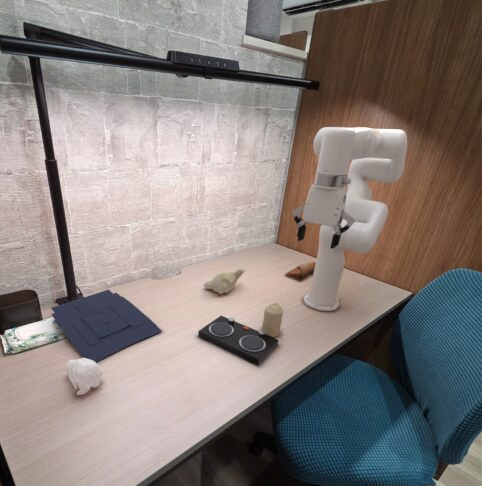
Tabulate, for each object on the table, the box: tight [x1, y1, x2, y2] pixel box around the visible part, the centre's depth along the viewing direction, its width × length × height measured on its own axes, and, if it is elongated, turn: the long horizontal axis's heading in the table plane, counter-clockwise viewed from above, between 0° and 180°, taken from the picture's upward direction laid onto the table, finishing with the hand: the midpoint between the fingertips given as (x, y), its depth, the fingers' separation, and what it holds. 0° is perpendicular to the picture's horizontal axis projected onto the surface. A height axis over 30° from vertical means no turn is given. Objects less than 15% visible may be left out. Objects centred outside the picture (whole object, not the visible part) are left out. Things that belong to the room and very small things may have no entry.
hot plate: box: [197, 315, 279, 366], centre depth 95 cm, size 12×21×3 cm, turn 52°
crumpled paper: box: [65, 357, 103, 396], centre depth 76 cm, size 6×8×12 cm
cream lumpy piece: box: [203, 268, 246, 295], centre depth 124 cm, size 15×7×15 cm
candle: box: [261, 302, 284, 338], centre depth 98 cm, size 6×6×10 cm
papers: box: [50, 288, 163, 363], centre depth 100 cm, size 24×30×4 cm
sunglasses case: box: [285, 261, 316, 282], centre depth 142 cm, size 18×7×7 cm, turn 137°
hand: (316, 243), depth 91 cm, fingers open, 9 cm apart
